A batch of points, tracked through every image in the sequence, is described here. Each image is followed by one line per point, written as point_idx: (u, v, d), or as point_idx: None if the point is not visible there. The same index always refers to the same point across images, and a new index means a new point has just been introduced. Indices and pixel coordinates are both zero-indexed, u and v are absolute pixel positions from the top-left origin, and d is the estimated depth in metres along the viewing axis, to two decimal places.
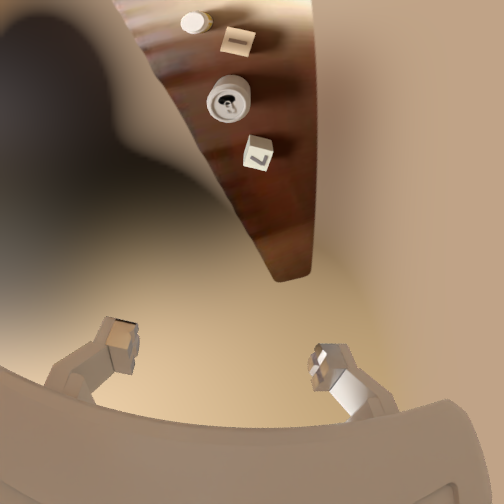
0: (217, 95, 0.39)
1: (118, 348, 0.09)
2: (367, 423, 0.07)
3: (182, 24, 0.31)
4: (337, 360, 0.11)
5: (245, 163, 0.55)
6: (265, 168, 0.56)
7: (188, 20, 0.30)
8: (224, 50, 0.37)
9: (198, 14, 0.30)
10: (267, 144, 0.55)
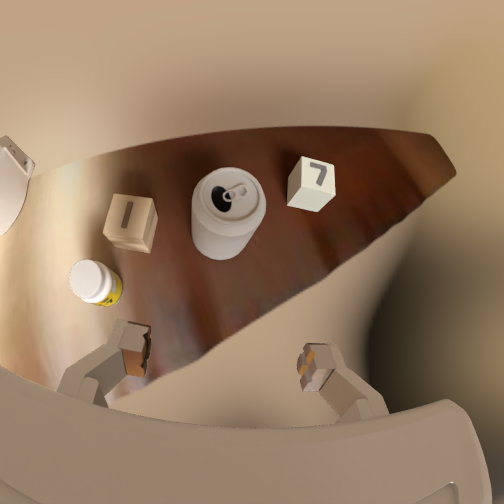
0: (213, 213, 0.25)
1: (132, 351, 0.09)
2: (367, 423, 0.07)
3: (87, 294, 0.23)
4: (325, 361, 0.11)
5: (330, 191, 0.35)
6: (330, 166, 0.36)
7: (81, 284, 0.23)
8: (141, 232, 0.28)
9: (73, 269, 0.23)
10: (294, 174, 0.38)
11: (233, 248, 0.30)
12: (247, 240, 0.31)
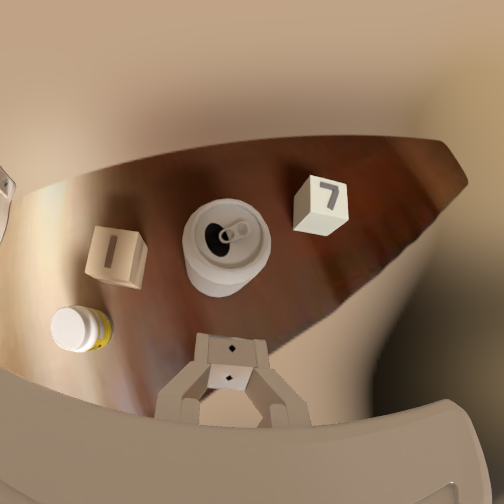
0: (208, 259, 0.21)
1: (221, 365, 0.10)
2: (367, 423, 0.07)
3: (71, 346, 0.19)
4: (245, 357, 0.10)
5: (343, 216, 0.31)
6: (342, 185, 0.32)
7: (64, 336, 0.19)
8: (127, 273, 0.24)
9: (54, 317, 0.19)
10: (301, 194, 0.34)
11: (233, 290, 0.26)
12: None
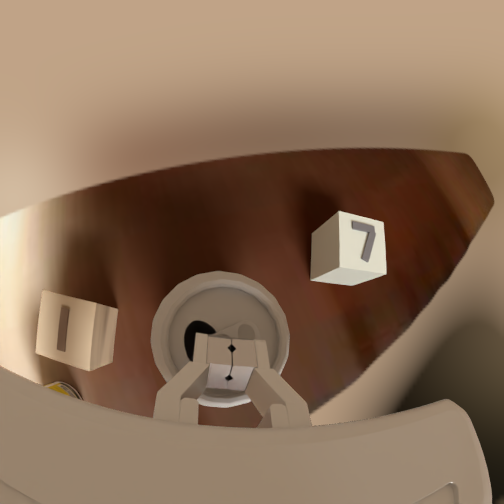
0: None
1: (220, 365, 0.10)
2: (367, 423, 0.07)
3: None
4: (246, 357, 0.10)
5: (380, 270, 0.22)
6: (378, 224, 0.23)
7: None
8: (87, 360, 0.15)
9: None
10: (323, 234, 0.25)
11: None
12: None
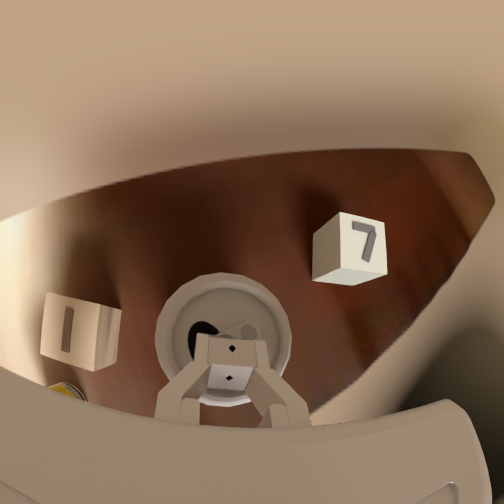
0: None
1: (221, 365, 0.10)
2: (367, 423, 0.07)
3: None
4: (246, 357, 0.10)
5: (381, 270, 0.22)
6: (379, 224, 0.23)
7: None
8: (91, 361, 0.16)
9: None
10: (324, 235, 0.25)
11: None
12: None
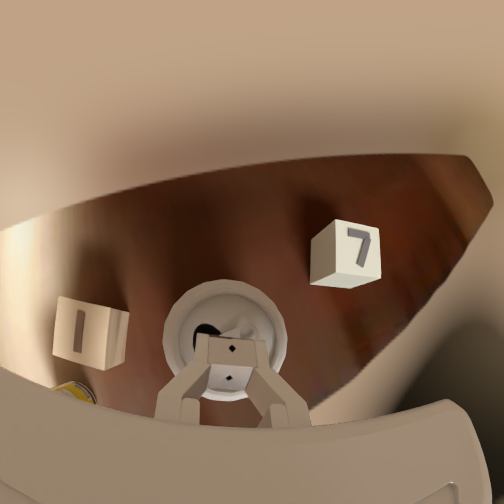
0: None
1: (221, 365, 0.10)
2: (367, 423, 0.07)
3: None
4: (246, 357, 0.10)
5: (375, 274, 0.23)
6: (373, 230, 0.25)
7: None
8: (102, 360, 0.17)
9: None
10: (321, 241, 0.27)
11: None
12: None
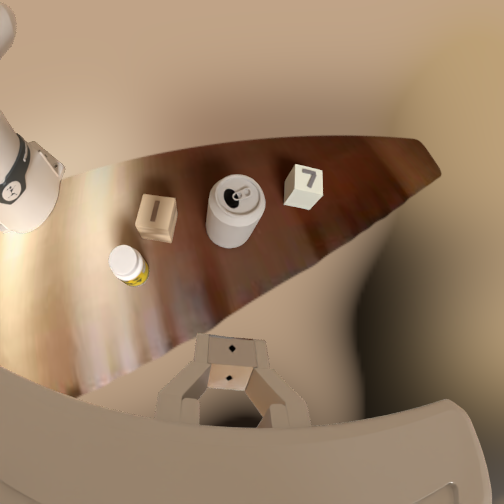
0: (225, 209, 0.33)
1: (221, 365, 0.10)
2: (367, 423, 0.07)
3: (124, 272, 0.32)
4: (246, 357, 0.10)
5: (319, 192, 0.43)
6: (318, 171, 0.45)
7: (119, 264, 0.32)
8: (167, 224, 0.37)
9: (112, 252, 0.32)
10: (289, 178, 0.47)
11: (240, 237, 0.39)
12: (251, 231, 0.39)
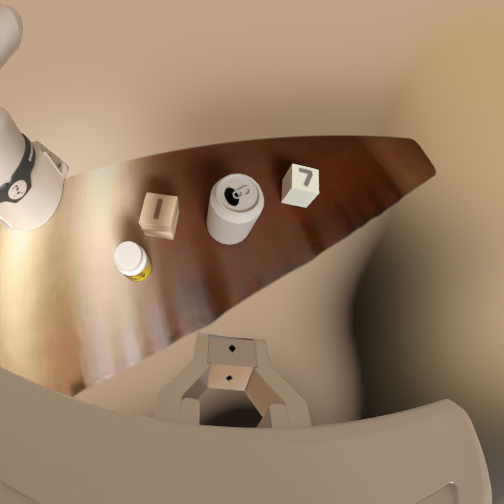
0: (226, 206, 0.35)
1: (221, 365, 0.10)
2: (367, 423, 0.07)
3: (129, 267, 0.33)
4: (245, 357, 0.10)
5: (315, 191, 0.45)
6: (315, 170, 0.46)
7: (124, 260, 0.33)
8: (170, 222, 0.38)
9: (117, 248, 0.33)
10: (286, 177, 0.48)
11: (239, 234, 0.40)
12: (250, 228, 0.41)
